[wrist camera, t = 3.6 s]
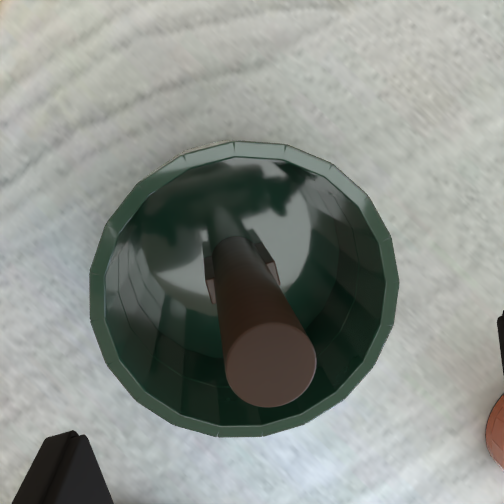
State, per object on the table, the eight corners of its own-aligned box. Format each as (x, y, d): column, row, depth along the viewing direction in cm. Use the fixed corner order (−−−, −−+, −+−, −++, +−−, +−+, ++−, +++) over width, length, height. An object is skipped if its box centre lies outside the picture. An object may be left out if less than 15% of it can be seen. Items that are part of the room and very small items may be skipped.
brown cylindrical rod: (212, 291, 25) (228, 422, 14) (199, 245, 24) (203, 341, 13) (270, 275, 25) (335, 390, 14) (259, 229, 25) (316, 309, 13)
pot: (157, 388, 27) (145, 472, 20) (85, 175, 24) (41, 190, 17) (363, 328, 27) (419, 391, 21) (319, 114, 24) (368, 105, 17)
